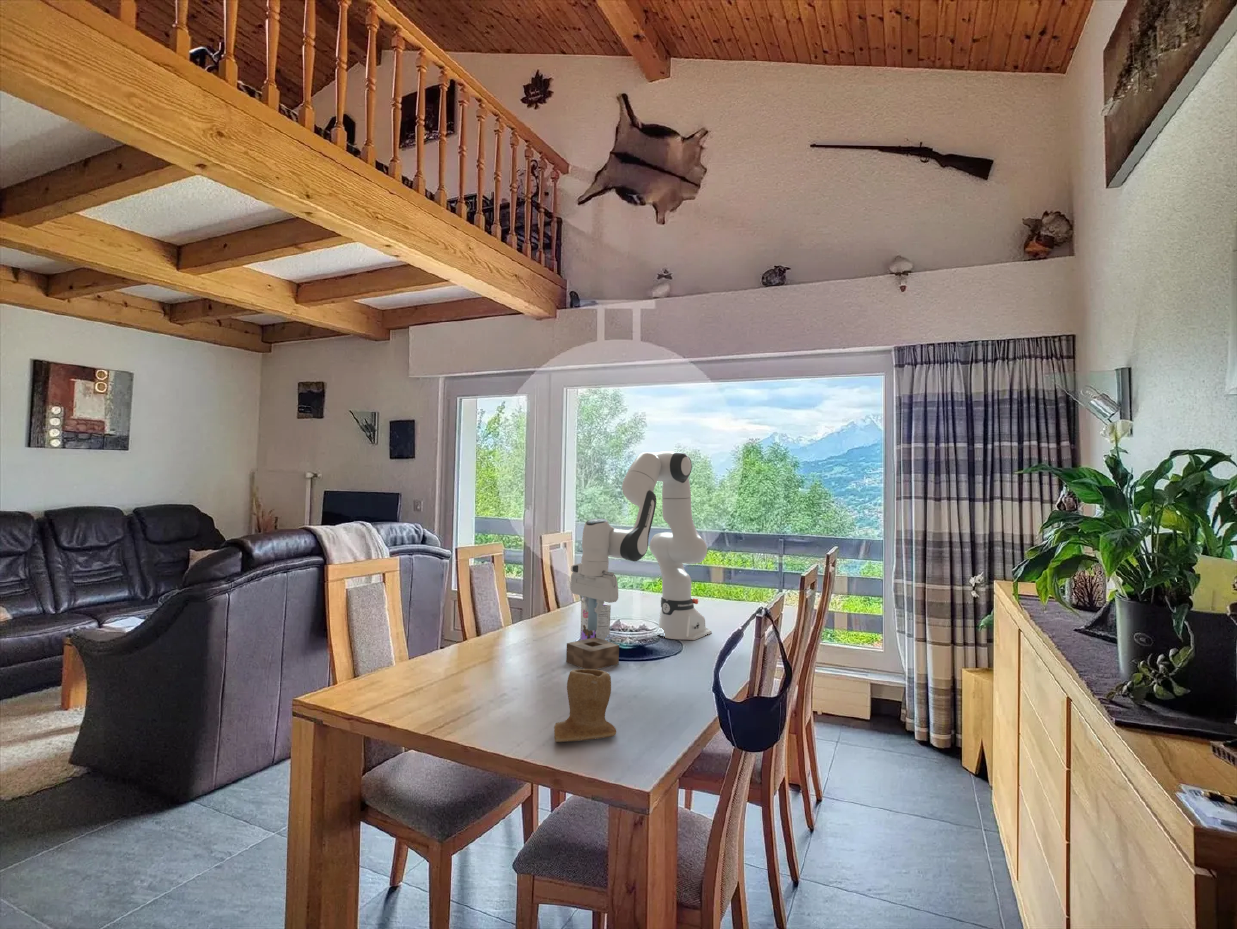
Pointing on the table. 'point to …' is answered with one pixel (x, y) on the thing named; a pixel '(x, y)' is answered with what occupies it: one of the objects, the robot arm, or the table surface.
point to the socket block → (592, 653)
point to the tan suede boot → (586, 707)
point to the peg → (592, 615)
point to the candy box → (602, 623)
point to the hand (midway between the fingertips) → (593, 611)
